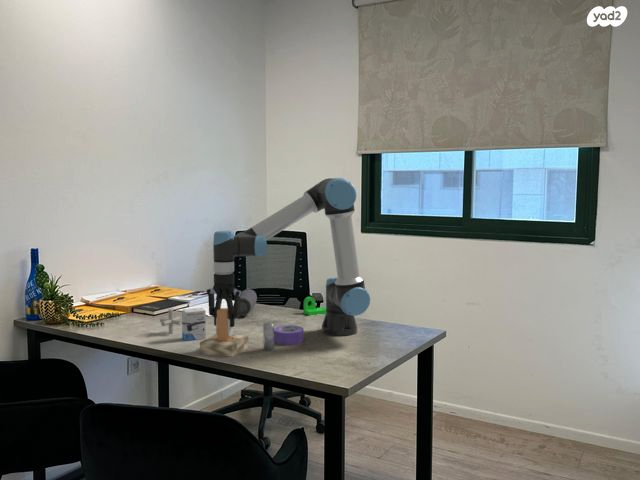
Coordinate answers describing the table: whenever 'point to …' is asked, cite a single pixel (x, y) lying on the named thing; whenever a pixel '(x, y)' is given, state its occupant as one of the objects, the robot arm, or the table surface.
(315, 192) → the robot arm
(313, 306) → the mechanical part
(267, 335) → the round bit
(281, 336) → the tape roll
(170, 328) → the pipe connector
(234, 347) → the socket block
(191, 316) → the ink box
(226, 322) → the square bit
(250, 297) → the bluetooth speaker
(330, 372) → the table surface
